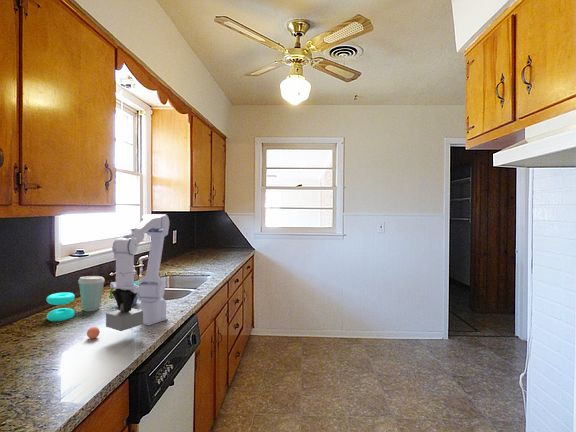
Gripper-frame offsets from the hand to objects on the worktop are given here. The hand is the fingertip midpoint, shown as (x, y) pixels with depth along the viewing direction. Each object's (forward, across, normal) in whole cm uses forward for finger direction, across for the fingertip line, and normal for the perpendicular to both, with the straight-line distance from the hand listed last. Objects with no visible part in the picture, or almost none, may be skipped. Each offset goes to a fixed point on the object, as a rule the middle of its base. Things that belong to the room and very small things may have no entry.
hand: (124, 310), depth 126 cm
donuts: (+10, -43, 0) cm, 45 cm away
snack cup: (+10, -39, +28) cm, 49 cm away
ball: (+8, -10, -5) cm, 14 cm away
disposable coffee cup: (+10, -45, +14) cm, 48 cm away
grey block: (+5, 0, 0) cm, 5 cm away
